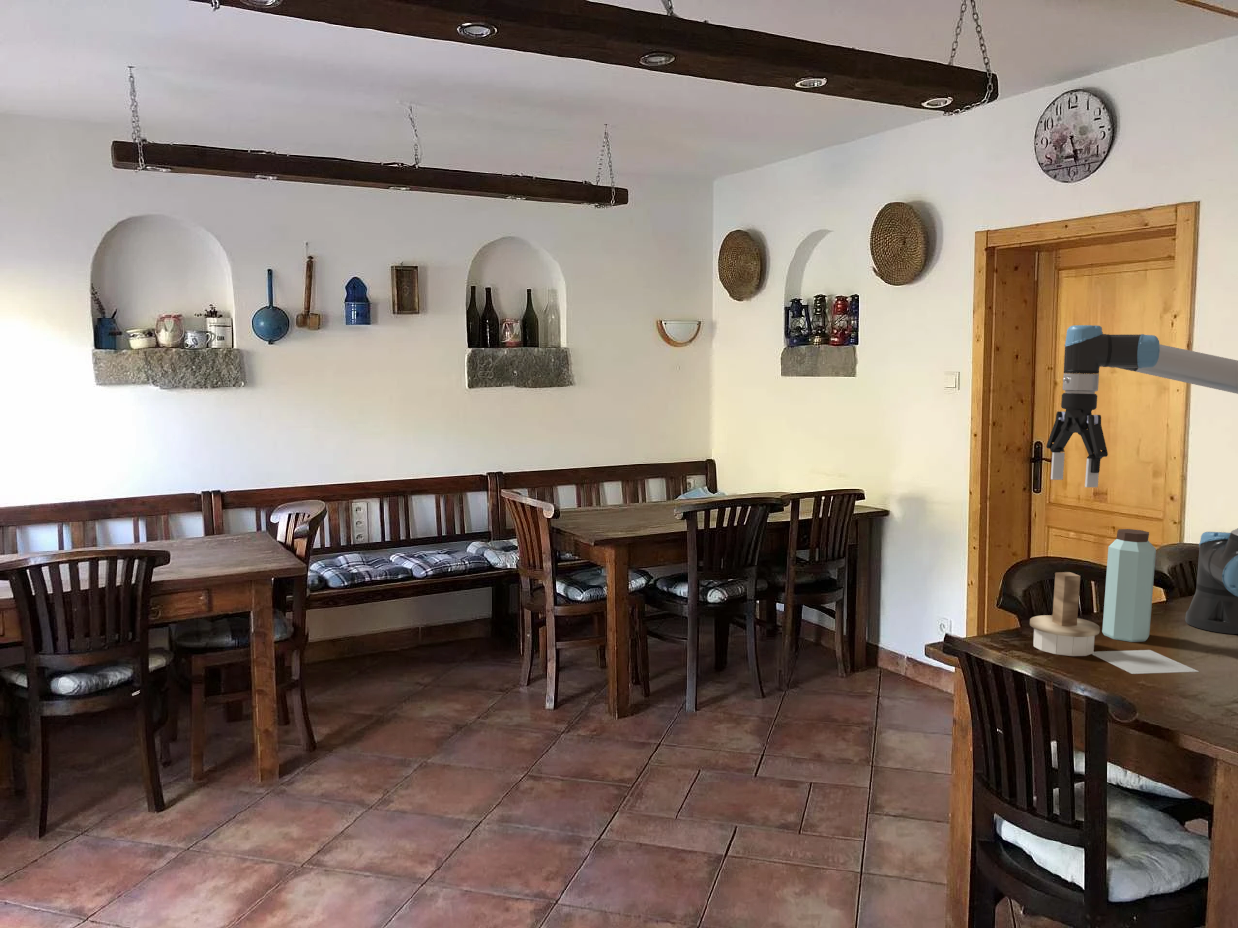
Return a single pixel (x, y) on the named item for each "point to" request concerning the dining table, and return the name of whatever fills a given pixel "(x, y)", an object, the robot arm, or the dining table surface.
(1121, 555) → the water bottle
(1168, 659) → the mat
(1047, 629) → the wooden post on disc
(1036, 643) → the bowl
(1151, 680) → the dining table surface
